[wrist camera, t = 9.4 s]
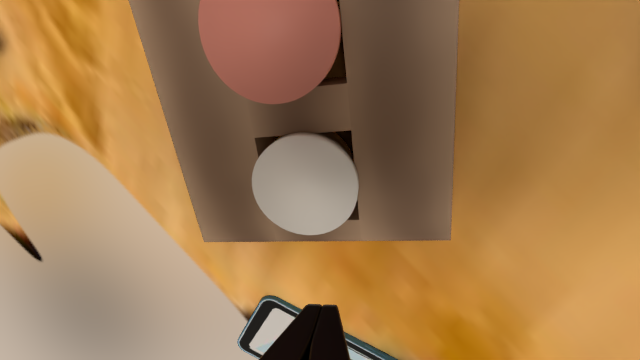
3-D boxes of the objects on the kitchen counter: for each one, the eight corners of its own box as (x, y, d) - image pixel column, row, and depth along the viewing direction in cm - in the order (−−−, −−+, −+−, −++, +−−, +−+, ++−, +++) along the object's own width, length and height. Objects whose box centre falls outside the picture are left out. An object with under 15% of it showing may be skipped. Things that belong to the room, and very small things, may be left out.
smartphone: (265, 293, 26) (429, 383, 26) (269, 285, 27) (428, 372, 27) (233, 346, 29) (381, 425, 29) (238, 337, 30) (381, 414, 30)
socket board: (454, -347, 12) (475, -460, 9) (441, 213, 21) (450, 240, 18) (104, -221, 15) (41, -277, 12) (224, 218, 24) (204, 241, 21)
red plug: (342, -47, 15) (329, -73, 11) (353, 83, 17) (345, 97, 13) (227, -24, 16) (180, -41, 12) (251, 94, 18) (217, 110, 14)
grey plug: (358, 113, 19) (352, 132, 15) (365, 200, 21) (361, 234, 17) (266, 121, 20) (241, 141, 16) (282, 202, 22) (263, 235, 19)
